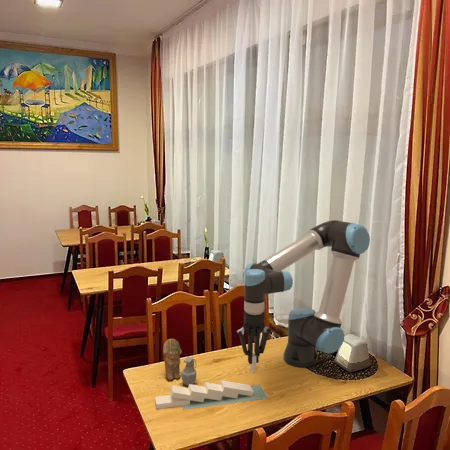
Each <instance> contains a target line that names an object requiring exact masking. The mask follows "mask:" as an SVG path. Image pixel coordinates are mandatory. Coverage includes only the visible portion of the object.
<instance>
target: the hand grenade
mask: <svg viewBox="0 0 450 450" xmlns="http://www.w3.org/2000/svg"><path fill="white" fill-rule="evenodd" d="M183 363H186V364H185V366H184V369H182V370H181V372H180V374H181V375H180V378H181V381H182V383H183V384H184V386H185V387H188V386H189V384H192V385H195V382H196V379H197V370H196V368H197V365H195V364H197V361H196V359H195V358H194V357H190V356H187V357H186V358H185V359H184V360H183Z"/></svg>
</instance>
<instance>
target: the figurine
mask: <svg viewBox="0 0 450 450" xmlns="http://www.w3.org/2000/svg"><path fill="white" fill-rule="evenodd" d="M162 349H163V351H162V352H163V356H164V357H163V360H164V361H163V362H164V372H165V377H166V378H167V380H169V381H172V380H173V379H176V380H177V379H180V378H181V375H180V374H181V372H180V364H181V357H180V356H181V354H182V351H183V350H182V349H181V345H180V343H179V341H178V340H177V339H175V338H169V339H167V340H166V341H165V342H164V344H163V347H162Z"/></svg>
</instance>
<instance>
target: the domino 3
mask: <svg viewBox="0 0 450 450" xmlns="http://www.w3.org/2000/svg"><path fill="white" fill-rule="evenodd" d="M187 388H188V391H189V393H190V396H195V397H201V398H207V399H213V400H220V401H221V399H222V396H218V395H212V394H207V392H206V390H205V388H204V385H203V386H202V385H196V384H193V385H192V384H189V386H187Z"/></svg>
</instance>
